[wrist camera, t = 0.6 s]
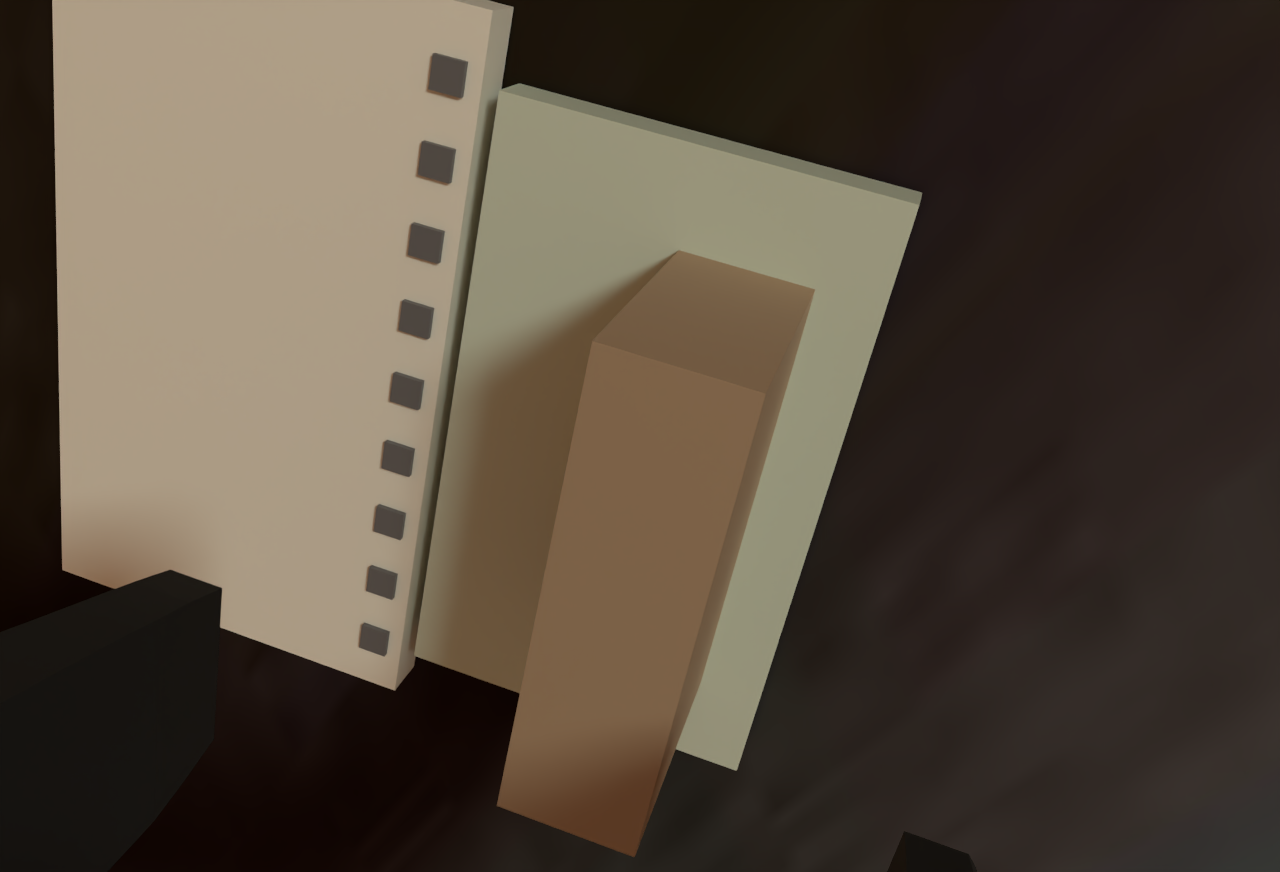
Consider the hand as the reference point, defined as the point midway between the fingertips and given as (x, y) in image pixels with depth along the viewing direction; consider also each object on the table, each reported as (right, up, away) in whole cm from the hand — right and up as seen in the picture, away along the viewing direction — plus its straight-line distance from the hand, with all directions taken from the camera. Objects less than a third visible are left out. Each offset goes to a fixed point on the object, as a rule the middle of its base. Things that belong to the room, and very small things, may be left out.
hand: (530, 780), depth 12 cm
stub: (+1, +3, +7) cm, 8 cm away
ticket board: (-5, +5, +8) cm, 11 cm away
